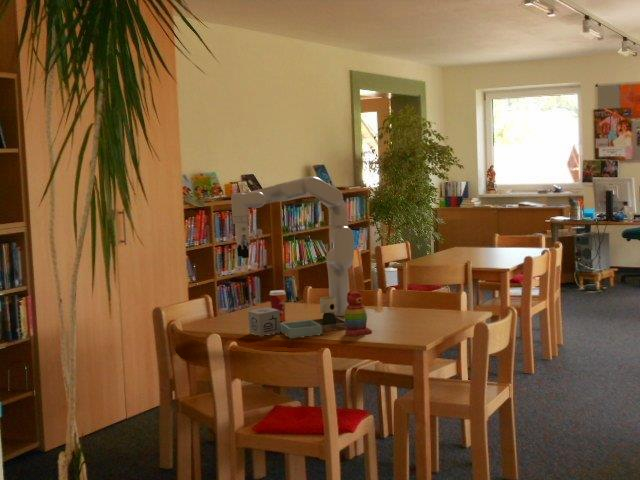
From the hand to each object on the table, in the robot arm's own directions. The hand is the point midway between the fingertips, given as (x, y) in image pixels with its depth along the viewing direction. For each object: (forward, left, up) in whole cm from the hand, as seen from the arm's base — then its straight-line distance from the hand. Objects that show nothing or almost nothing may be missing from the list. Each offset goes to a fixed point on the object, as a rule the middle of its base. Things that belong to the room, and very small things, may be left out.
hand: (243, 257), depth 402 cm
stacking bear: (-37, +48, -32) cm, 68 cm away
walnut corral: (-31, +28, -31) cm, 52 cm away
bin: (-16, +36, -31) cm, 50 cm away
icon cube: (-2, +27, -31) cm, 41 cm away
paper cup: (-15, 0, -31) cm, 35 cm away
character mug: (-31, +28, -31) cm, 52 cm away
